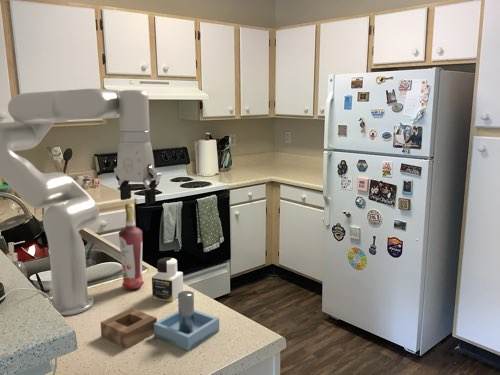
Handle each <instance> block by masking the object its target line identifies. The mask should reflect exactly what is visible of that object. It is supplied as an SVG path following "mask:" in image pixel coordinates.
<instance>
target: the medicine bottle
mask: <svg viewBox="0 0 500 375" xmlns="http://www.w3.org/2000/svg"><path fill="white" fill-rule="evenodd" d="M156 262H157V263H156V265H157V273H156V274H154V275H153V276H151V287H152V288H151V289H152V290H151V291H152V294H151V295H152V299H155V300H161V301H166V302H174V301H175V300H176V299H178V294H179V293H180V292H182V291H184V273H183V271H178V260H177V259H176V258H174V257H163V258H159V259H158V260H157V261H156Z"/></svg>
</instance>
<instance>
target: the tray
mask: <svg viewBox="0 0 500 375" xmlns="http://www.w3.org/2000/svg"><path fill="white" fill-rule="evenodd" d="M218 332H220V318H218V317H216V316H214V315H210V314H208V313H205V312H203V311H202V312H201V311H199V310H196V309H194V331H193V332H192V333H189V334H185V333H183V332H180V331H179V310H177V311H175V312H173V313H172V314H169V315H167V316H166V317H164V318H162V319H160V320H157V322H156V323H154V334H153V337H155V338H157V339H160V340H161V341H162V340H163V341H164V342H167V343H169V344H171V345H174V346H176V347H178V348H181V349H183V350H186V351H187V352H189V351H190V350H192V349H194V348H195V347H197V346H198V345H200V344H201V343H203V342H205V341H206V340H208V339H209V338H210V337H212V336H213V335H215V334H216V333H218Z"/></svg>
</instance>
